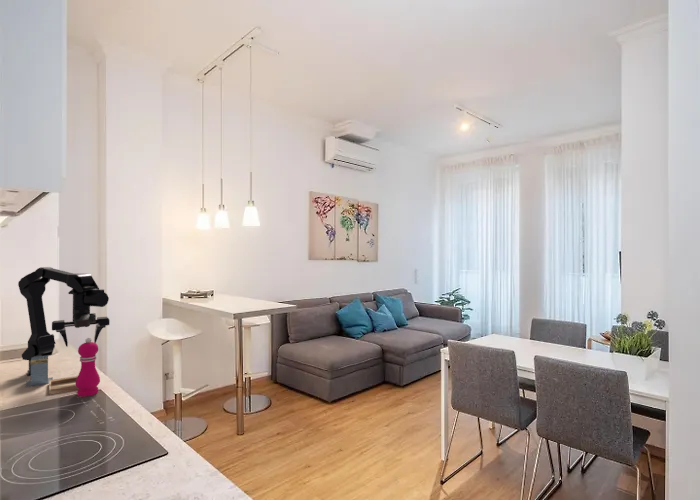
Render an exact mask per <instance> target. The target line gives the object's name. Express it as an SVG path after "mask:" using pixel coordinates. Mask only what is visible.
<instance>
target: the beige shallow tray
mask: <svg viewBox="0 0 700 500" xmlns="http://www.w3.org/2000/svg"><path fill="white" fill-rule="evenodd" d="M77 377H78V375H74V376H67V377H62V378H61V377H60V378H53V380H49V384H48V395H54V394H60V393H67V392H71V391H72V392H73V391H78V390H79V389H78V388H77V387H76V379H77Z"/></svg>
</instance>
